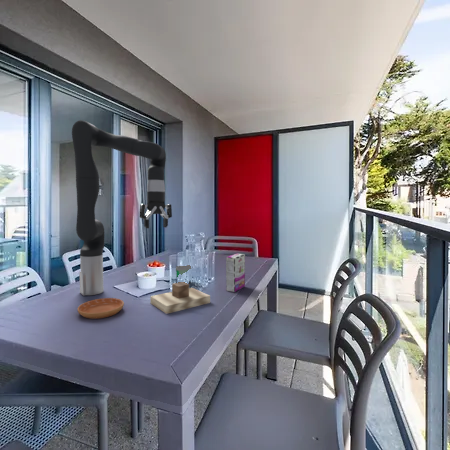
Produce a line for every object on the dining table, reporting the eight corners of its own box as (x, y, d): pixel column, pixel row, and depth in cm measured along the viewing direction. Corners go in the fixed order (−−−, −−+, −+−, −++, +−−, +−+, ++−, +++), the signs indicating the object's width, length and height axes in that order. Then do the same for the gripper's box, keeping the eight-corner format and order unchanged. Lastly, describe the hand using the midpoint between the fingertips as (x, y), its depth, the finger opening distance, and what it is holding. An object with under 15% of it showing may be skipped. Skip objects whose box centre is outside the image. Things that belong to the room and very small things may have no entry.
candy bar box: (236, 285, 145) (236, 253, 144) (245, 286, 143) (245, 254, 142) (225, 291, 136) (225, 256, 134) (234, 292, 133) (235, 257, 132)
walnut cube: (178, 298, 115) (178, 286, 114) (172, 295, 119) (172, 283, 118) (188, 296, 118) (189, 284, 118) (182, 293, 122) (182, 281, 121)
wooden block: (166, 313, 107) (166, 306, 107) (150, 303, 118) (150, 296, 117) (210, 302, 119) (210, 295, 119) (192, 294, 130) (192, 287, 130)
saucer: (77, 324, 97) (77, 315, 97) (77, 308, 112) (77, 301, 111) (126, 316, 105) (126, 308, 105) (120, 302, 119) (120, 295, 119)
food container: (187, 287, 141) (187, 267, 140) (175, 286, 142) (175, 266, 142) (195, 280, 153) (195, 262, 152) (184, 279, 154) (184, 261, 154)
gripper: (166, 191, 133) (166, 226, 134) (136, 190, 124) (137, 227, 125) (174, 191, 127) (174, 227, 128) (143, 190, 118) (144, 229, 119)
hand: (156, 227), depth 127 cm, fingers open, 8 cm apart
